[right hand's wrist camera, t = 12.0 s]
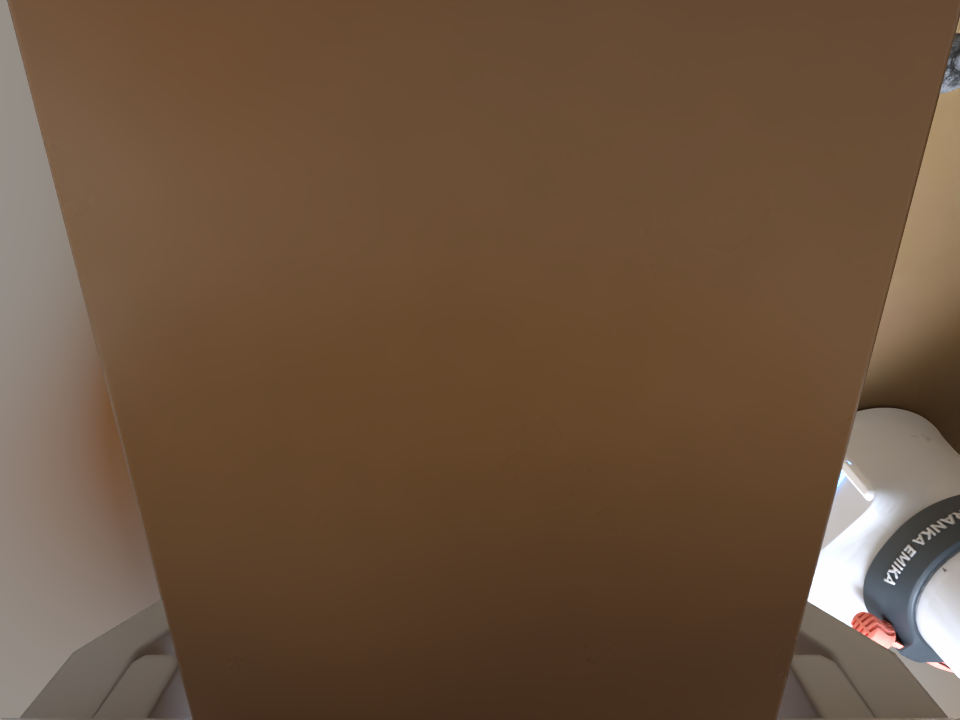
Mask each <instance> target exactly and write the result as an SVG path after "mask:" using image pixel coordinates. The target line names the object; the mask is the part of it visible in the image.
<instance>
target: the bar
mask: <svg viewBox="0 0 960 720" xmlns="http://www.w3.org/2000/svg"><path fill="white" fill-rule="evenodd" d="M7 2H8V6H9V9H10V13H11V17H12V21H13V25H14V29H15V33H16V37H17V40H18V45H19V48H20V52H21V56H22V60H23V64H24V68H25V72H26V75H27V79H28V83H29V87H30V91H31V95H32V99H33V103H34V107H35V111H36V114H37V118H38V122H39V126H40V130H41V134H42V138H43V142H44V146H45V149H46V153H47V157H48V161H49V165H50V169H51V173H52V177H53V180H54V184H55V188H56V192H57V196H58V200H59V204H60V208H61V212H62V215H63V219H64V223H65V227H66V231H67V235H68V239H69V243H70V246H71V250H72V254H73V258H74V262H75V266H76V270H77V274H78V277H79V281H80V285H81V289H82V293H83V297H84V301H85V305H86V309H87V312H88V316H89V320H90V324H91V328H92V332H93V336H94V340H95V344H96V347H97V351H98V355H99V359H100V363H101V366H102V371H103V375H104V379H105V382H106V386H107V390H108V394H109V398H110V402H111V406H112V410H113V413H114V417H115V421H116V425H117V429H118V433H119V437H120V441H121V444H122V448H123V452H124V456H125V460H126V464H127V468H128V472H129V476H130V480H131V483H132V487H133V491H134V495H135V499H136V503H137V507H138V511H139V514H140V518H141V522H142V526H143V530H144V534H145V538H146V542H147V545H148V549H149V553H150V557H151V561H152V565H153V569H154V573H155V577H156V580H157V584H158V588H159V592H160V596H161V600H162V604H163V608H164V612H165V615H166V619H167V623H168V627H169V631H170V635H171V639H172V643H173V647H174V650H175V654H176V658H177V662H178V666H179V670H180V674H181V678H182V681H183V685H184V689H185V693H186V697H187V701H188V705H189V709H190V713H191V716H192V720H777V716H778V713H779V709H780V705H781V701H782V697H783V693H784V689H785V686H786V682H787V678H788V674H789V670H790V666H791V663H792V659H793V655H794V651H795V647H796V643H797V640H798V636H799V632H800V628H801V624H802V620H803V616H804V613H805V609H806V605H807V601H808V597H809V593H810V590H811V586H812V582H813V578H814V574H815V570H816V567H817V563H818V559H819V555H820V551H821V547H822V543H823V540H824V536H825V532H826V528H827V524H828V520H829V517H830V513H831V509H832V505H833V501H834V497H835V494H836V490H837V486H838V482H839V478H840V474H841V470H842V467H843V463H844V459H845V455H846V451H847V447H848V444H849V440H850V436H851V432H852V428H853V424H854V421H855V417H856V413H857V409H858V405H859V401H860V397H861V394H862V390H863V386H864V382H865V378H866V374H867V371H868V367H869V363H870V359H871V355H872V351H873V348H874V344H875V340H876V336H877V332H878V328H879V324H880V321H881V317H882V313H883V309H884V305H885V301H886V298H887V294H888V290H889V286H890V282H891V278H892V275H893V271H894V267H895V263H896V259H897V255H898V251H899V248H900V244H901V240H902V236H903V232H904V228H905V225H906V221H907V217H908V213H909V209H910V205H911V202H912V198H913V194H914V190H915V186H916V182H917V178H918V175H919V171H920V167H921V163H922V159H923V155H924V152H925V148H926V144H927V140H928V136H929V132H930V129H931V125H932V121H933V117H934V113H935V109H936V105H937V102H938V98H939V94H940V90H941V86H942V82H943V79H944V75H945V71H946V67H947V63H948V59H949V56H950V52H951V48H952V44H953V40H954V36H955V32H956V29H957V25H958V21H959V17H960V0H7Z"/></svg>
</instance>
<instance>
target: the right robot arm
mask: <svg viewBox="0 0 960 720" xmlns="http://www.w3.org/2000/svg"><path fill="white" fill-rule="evenodd" d="M891 646H894V647H895V648H896V650H897V651H898V652H899V653H900V654H901V655H903V656H905V657H907V658H909V659H911V660H913V661H915V662H923V663H925V662H926V663H929V664H931V665H933V666H935V667H937V668H940V669H943V670H947V671H950V672H954V673H955V674H956V675H957V676H958V677H959V678H960V455H959V454H958V453H957V452H956V451H955V450H954V449H953V448H952V447H951V446H950V445H949V444H948V442H947V441H946V440H945V439H944V438H943V436H942V435H941V434H940V432H939V431H938V430H937V428H936V427H935V426H934V425H933V424H932V423H930V422H929V421H928V420H926V419H925V418H923V417H922V416H920V415H918V414H915V413H913V412H910V411H907V410H903V409H897V408H872V409H866V410H861V411H857V413H856V417H855V421H854V424H853V428H852V432H851V436H850V440H849V444H848V447H847V451H846V455H845V459H844V463H843V467H842V470H841V474H840V478H839V482H838V486H837V490H836V494H835V497H834V501H833V505H832V509H831V513H830V517H829V520H828V524H827V528H826V532H825V536H824V540H823V543H822V547H821V551H820V555H819V559H818V563H817V567H816V570H815V574H814V578H813V582H812V586H811V590H810V593H809V597H808V601H807V605H806V609H805V613H804V616H803V620H802V624H801V628H800V632H799V636H798V640H797V643H796V647H795V651H794V655H793V659H792V663H791V666H790V670H789V674H788V678H787V682H786V686H785V689H784V693H783V697H782V701H781V705H780V709H779V713H778V716H777V720H960V718H948V717H947V715H946V714H945V713H944V712H943V711H942V709H941V708H940V707H939V706H938V705H937V703H936V702H935V701H934V700H933V699H932V697H931V696H930V695H929V694H928V692H927V691H926V690H925V689H924V688H923V686H922V685H921V684H920V683H919V682H918V680H917V679H916V678H915V677H914V676H913V674H912V673H911V672H910V671H909V670H908V668H907V667H906V666H905V665H904V664H903V662H902V661H901V660H900V659H899V658H898V656H897V655H896V654H895V653H894V652H892V651H890V650H889V649H888V648H890V647H891ZM944 662H945V663H946V664H947V665H948V666H947V665H945V664H943V663H944ZM0 720H192V716H191V713H190V709H189V705H188V701H187V697H186V693H185V689H184V685H183V681H182V678H181V674H180V670H179V666H178V662H177V658H176V654H175V650H174V647H173V643H172V639H171V635H170V631H169V627H168V623H167V619H166V615H165V612H164V608H163V604H162V600H159V601H158V602H156V603H155V604H153V605H151V606H149V607H148V608H146V609H145V610H143V611H141V612H140V613H138V614H136V615H135V616H133V617H131V618H130V619H128V620H126V621H125V622H123V623H121V624H120V625H118V626H116V627H115V628H113V629H111V630H110V631H108V632H106V633H105V634H103V635H101V636H100V637H98V638H96V639H95V640H93V641H91V642H90V643H88V644H86V645H85V646H83V647H81V648H80V649H78V650H76V651H75V652H73V653H72V655H71V656H70V657H69V658H68V660H67V661H66V662H65V663H64V664H63V666H62V667H61V668H60V669H59V671H58V672H57V673H56V674H55V675H54V677H53V678H52V679H51V680H50V681H49V683H48V684H47V685H46V686H45V688H44V689H43V690H42V691H41V693H40V694H39V695H38V696H37V697H36V699H35V700H34V701H33V702H32V703H31V705H30V706H29V707H28V708H27V710H26V711H25V712H24V713H23V714H22V716H21V717H20V718H0Z"/></svg>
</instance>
